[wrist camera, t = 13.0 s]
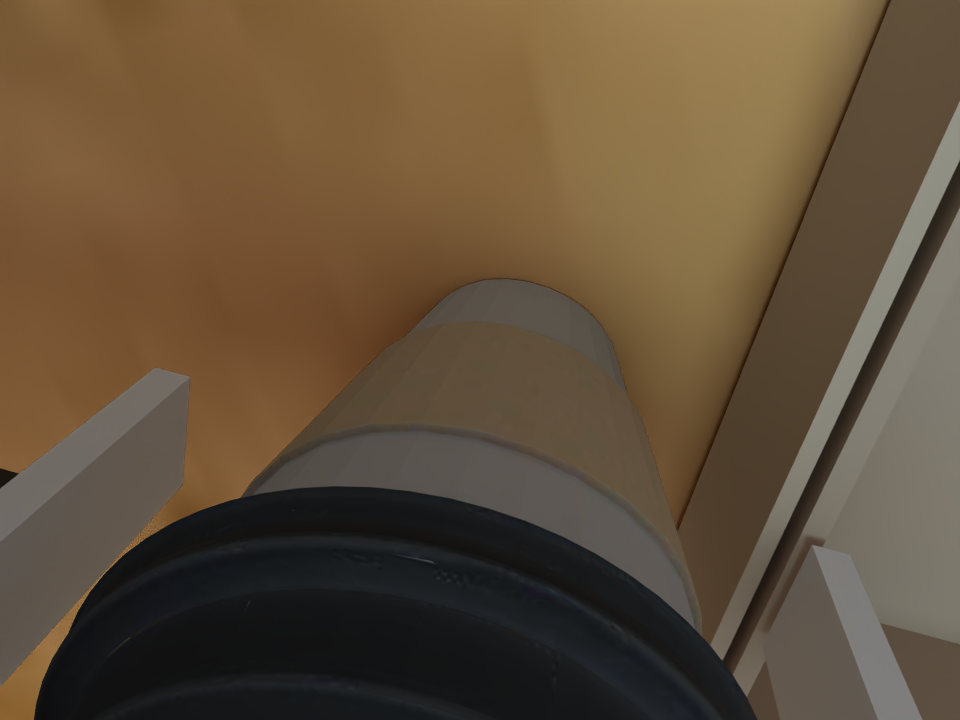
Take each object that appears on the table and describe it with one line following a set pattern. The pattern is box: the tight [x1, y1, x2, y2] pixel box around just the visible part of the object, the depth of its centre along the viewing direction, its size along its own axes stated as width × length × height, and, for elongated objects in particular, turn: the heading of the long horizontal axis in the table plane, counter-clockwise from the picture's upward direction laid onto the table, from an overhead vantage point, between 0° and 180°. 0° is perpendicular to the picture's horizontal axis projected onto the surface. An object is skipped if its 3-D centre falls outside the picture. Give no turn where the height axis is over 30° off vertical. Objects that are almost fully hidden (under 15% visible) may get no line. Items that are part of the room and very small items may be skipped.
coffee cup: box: [34, 279, 757, 720], centre depth 15 cm, size 9×9×15 cm
